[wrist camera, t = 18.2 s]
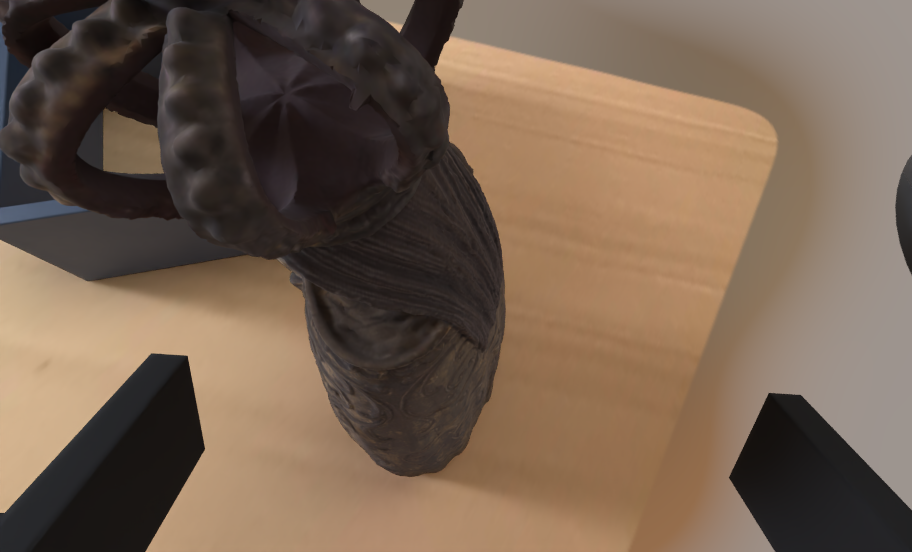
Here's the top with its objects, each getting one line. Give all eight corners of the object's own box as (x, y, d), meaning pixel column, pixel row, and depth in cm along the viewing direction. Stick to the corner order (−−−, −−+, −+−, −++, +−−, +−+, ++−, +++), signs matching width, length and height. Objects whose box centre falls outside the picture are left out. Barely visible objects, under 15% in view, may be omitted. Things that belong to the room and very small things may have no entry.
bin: (345, 238, 28) (322, 175, 21) (87, 282, 26) (-26, 228, 19) (316, 59, 32) (289, -42, 25) (89, 86, 30) (-6, -14, 23)
